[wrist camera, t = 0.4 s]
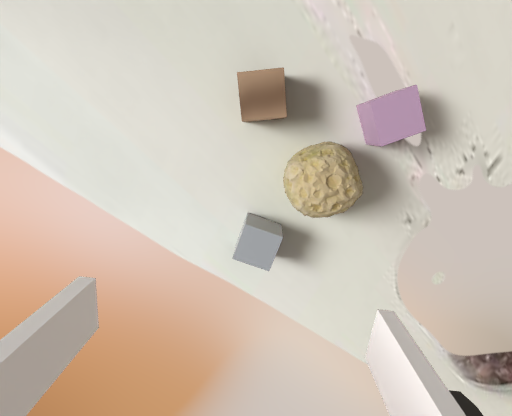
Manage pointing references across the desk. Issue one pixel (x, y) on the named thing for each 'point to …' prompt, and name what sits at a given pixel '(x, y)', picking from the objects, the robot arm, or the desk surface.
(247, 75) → the walnut cube
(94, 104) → the desk surface
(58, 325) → the robot arm
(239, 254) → the slate cube
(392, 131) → the plum cube
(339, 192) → the decorative object
